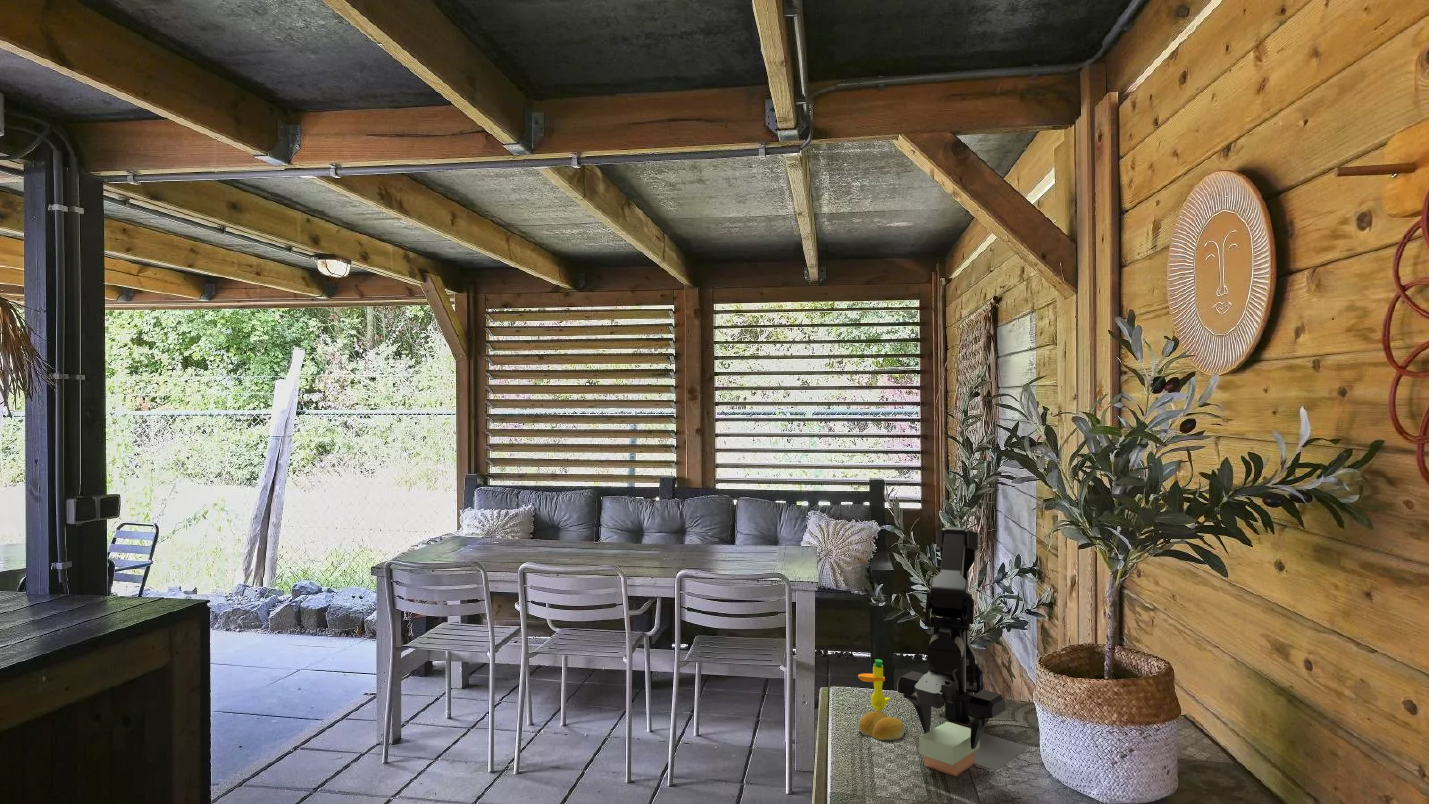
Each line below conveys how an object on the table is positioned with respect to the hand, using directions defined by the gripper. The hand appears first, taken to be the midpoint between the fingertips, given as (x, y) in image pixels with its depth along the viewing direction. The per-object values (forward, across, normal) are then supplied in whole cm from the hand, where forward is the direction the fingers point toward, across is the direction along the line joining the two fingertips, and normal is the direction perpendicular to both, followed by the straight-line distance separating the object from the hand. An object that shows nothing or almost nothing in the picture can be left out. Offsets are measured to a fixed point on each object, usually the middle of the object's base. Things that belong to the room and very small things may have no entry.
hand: (949, 740), depth 143 cm
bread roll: (+5, -17, +4) cm, 19 cm away
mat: (+5, +2, +10) cm, 12 cm away
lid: (+2, 0, 0) cm, 2 cm away
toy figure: (+5, -23, +10) cm, 26 cm away
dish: (+5, 0, 0) cm, 5 cm away
